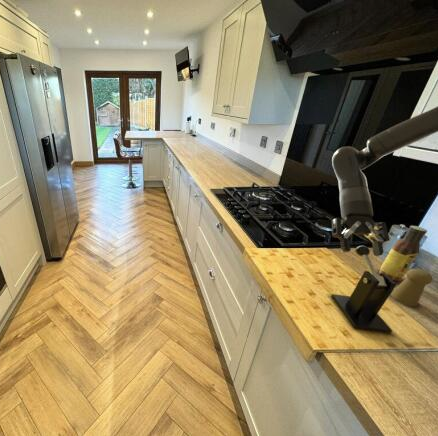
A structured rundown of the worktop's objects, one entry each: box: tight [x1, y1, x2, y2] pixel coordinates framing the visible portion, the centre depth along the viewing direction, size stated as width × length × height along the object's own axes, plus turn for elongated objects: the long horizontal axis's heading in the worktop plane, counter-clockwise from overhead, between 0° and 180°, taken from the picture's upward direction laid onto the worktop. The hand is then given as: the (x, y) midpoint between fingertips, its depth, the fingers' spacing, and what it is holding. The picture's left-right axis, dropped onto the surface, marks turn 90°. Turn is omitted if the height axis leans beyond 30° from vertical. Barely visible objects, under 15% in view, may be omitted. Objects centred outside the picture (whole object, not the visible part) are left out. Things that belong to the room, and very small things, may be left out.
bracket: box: [330, 270, 398, 335], centre depth 66 cm, size 12×9×14 cm
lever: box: [354, 245, 387, 289], centre depth 67 cm, size 13×3×3 cm, turn 170°
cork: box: [390, 268, 434, 307], centre depth 73 cm, size 6×6×11 cm
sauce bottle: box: [378, 225, 428, 282], centre depth 82 cm, size 7×6×20 cm
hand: (362, 253), depth 70 cm, fingers open, 8 cm apart
